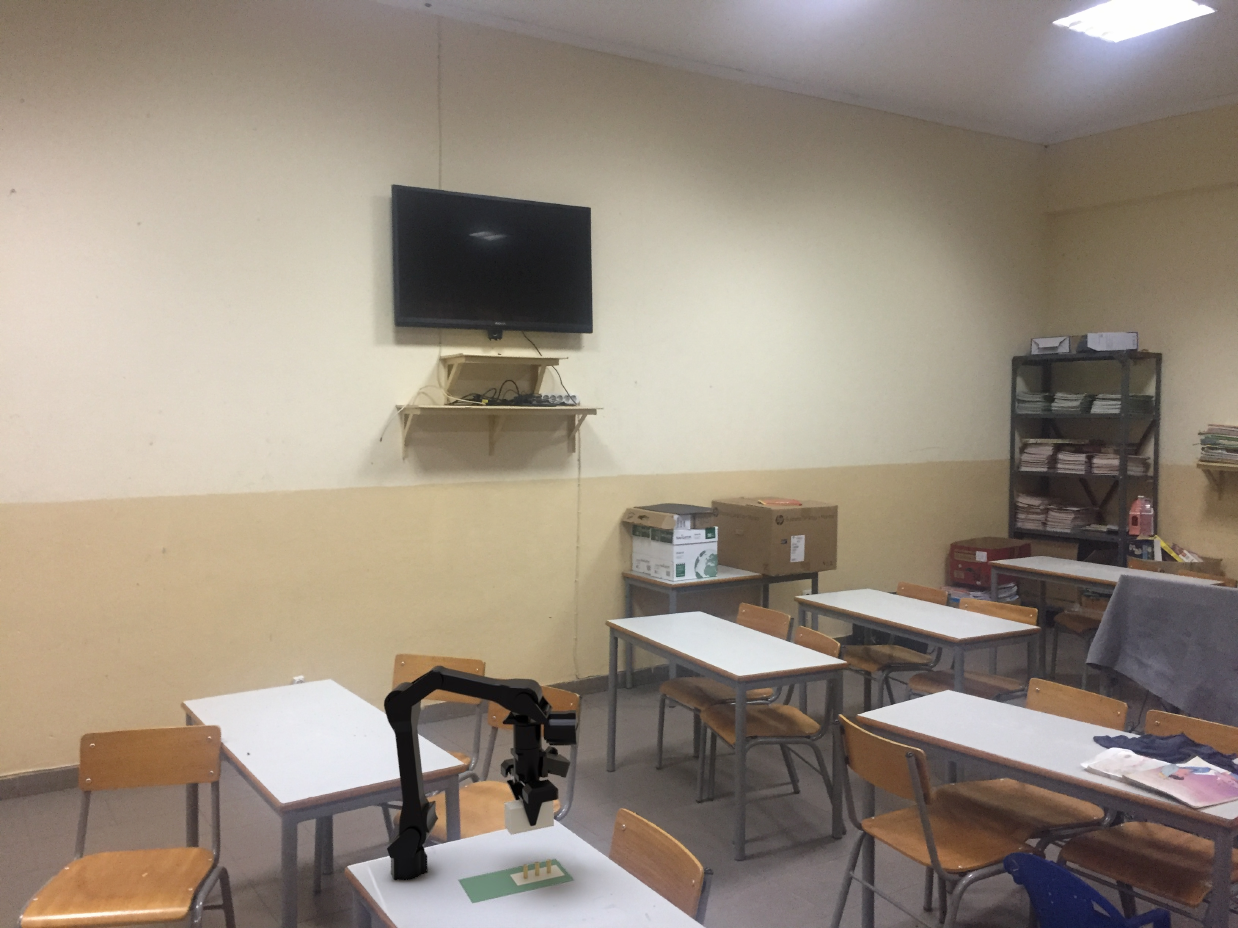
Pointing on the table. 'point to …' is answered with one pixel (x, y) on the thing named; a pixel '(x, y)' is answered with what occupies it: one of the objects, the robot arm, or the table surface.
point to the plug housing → (518, 819)
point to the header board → (514, 880)
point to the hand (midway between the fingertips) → (529, 821)
